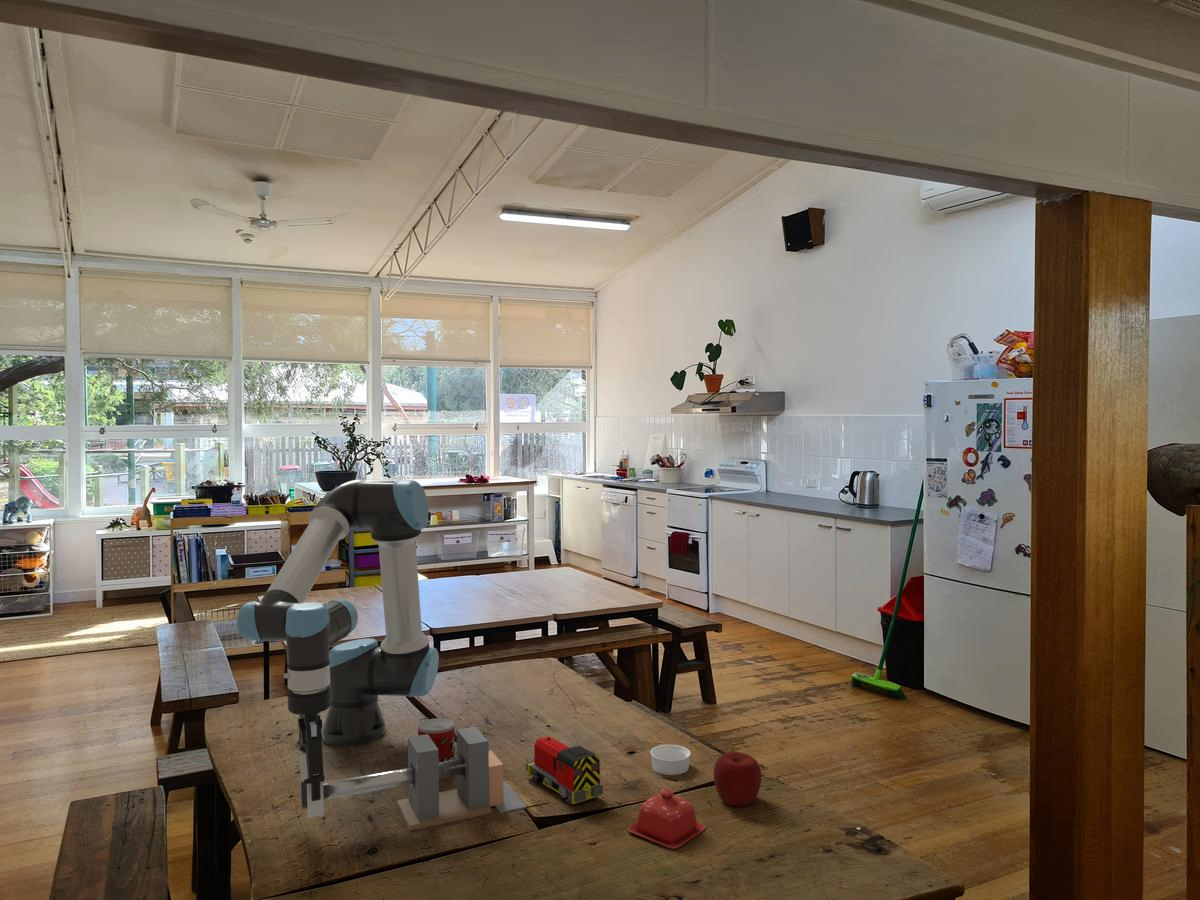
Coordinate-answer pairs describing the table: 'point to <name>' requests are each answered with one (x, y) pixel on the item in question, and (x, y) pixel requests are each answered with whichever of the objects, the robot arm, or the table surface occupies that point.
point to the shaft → (380, 781)
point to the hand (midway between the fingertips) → (311, 800)
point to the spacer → (495, 781)
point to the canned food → (440, 736)
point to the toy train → (566, 769)
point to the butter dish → (667, 820)
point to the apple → (737, 778)
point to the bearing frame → (424, 794)
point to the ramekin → (670, 759)
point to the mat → (510, 800)
